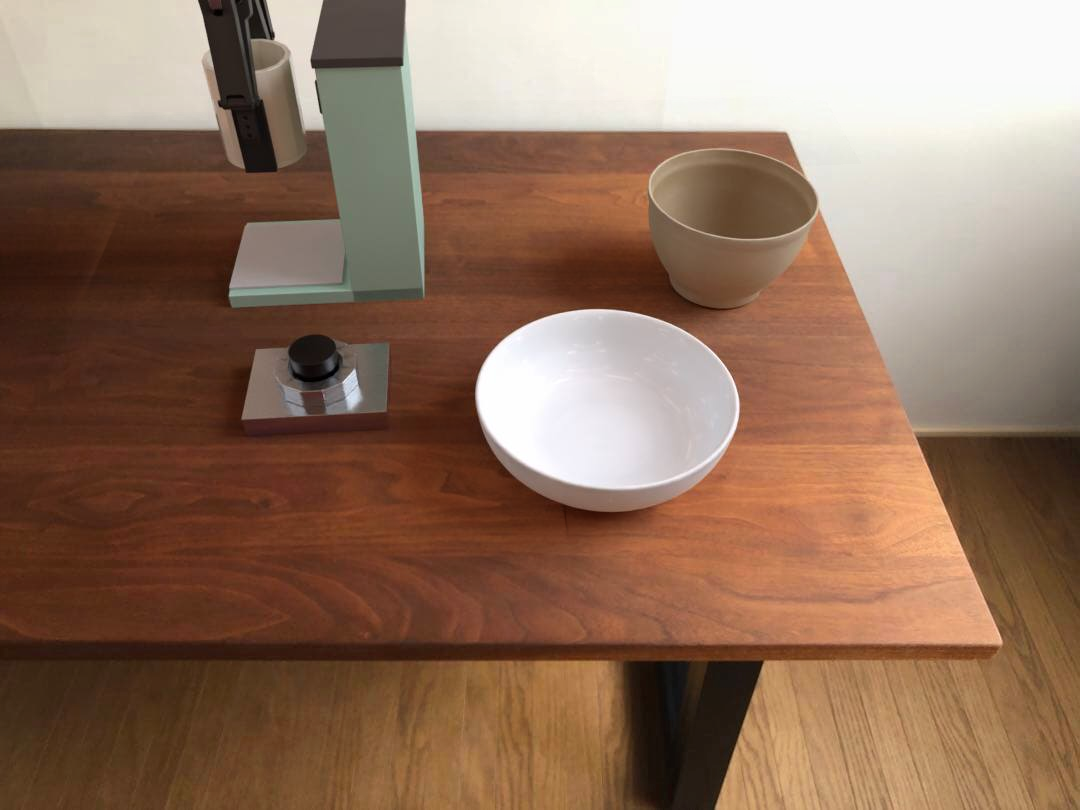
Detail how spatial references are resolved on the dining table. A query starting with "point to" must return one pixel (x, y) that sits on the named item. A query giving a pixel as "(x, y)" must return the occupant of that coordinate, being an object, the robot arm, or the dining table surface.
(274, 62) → the cup
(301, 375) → the button
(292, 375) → the button block
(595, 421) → the serving bowl
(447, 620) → the dining table surface
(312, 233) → the coffee maker
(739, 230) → the planter bowl
